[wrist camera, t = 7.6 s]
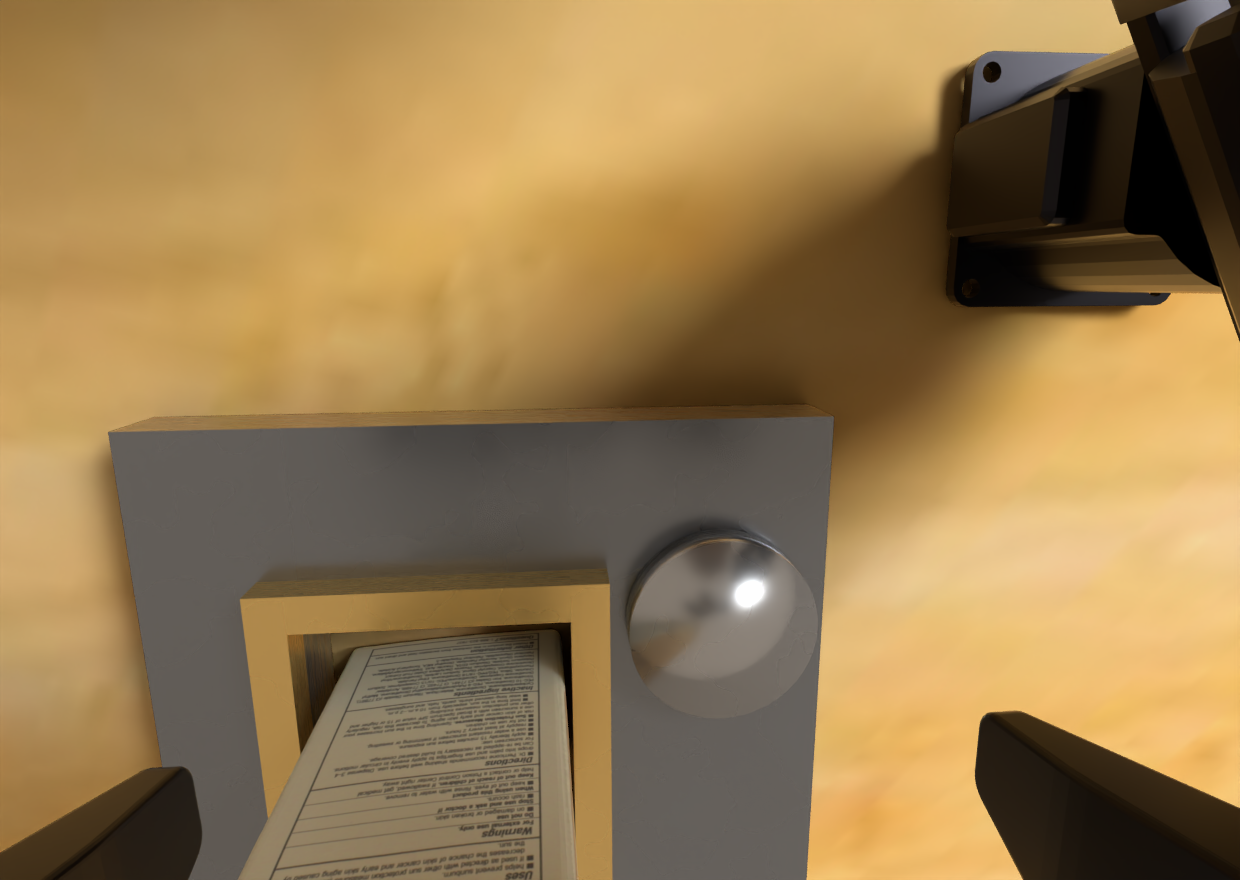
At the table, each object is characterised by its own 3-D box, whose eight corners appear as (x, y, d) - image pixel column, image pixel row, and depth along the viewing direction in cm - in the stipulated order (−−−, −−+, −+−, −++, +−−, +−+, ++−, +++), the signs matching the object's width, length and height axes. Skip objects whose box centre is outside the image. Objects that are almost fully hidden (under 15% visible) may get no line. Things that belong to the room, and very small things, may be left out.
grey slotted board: (807, 404, 21) (849, 423, 18) (784, 846, 24) (817, 925, 21) (154, 417, 19) (80, 440, 16) (223, 888, 22) (173, 979, 19)
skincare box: (369, 770, 22) (147, 1350, 10) (352, 641, 21) (83, 1112, 9) (578, 750, 22) (605, 1282, 10) (570, 623, 21) (590, 1049, 10)
